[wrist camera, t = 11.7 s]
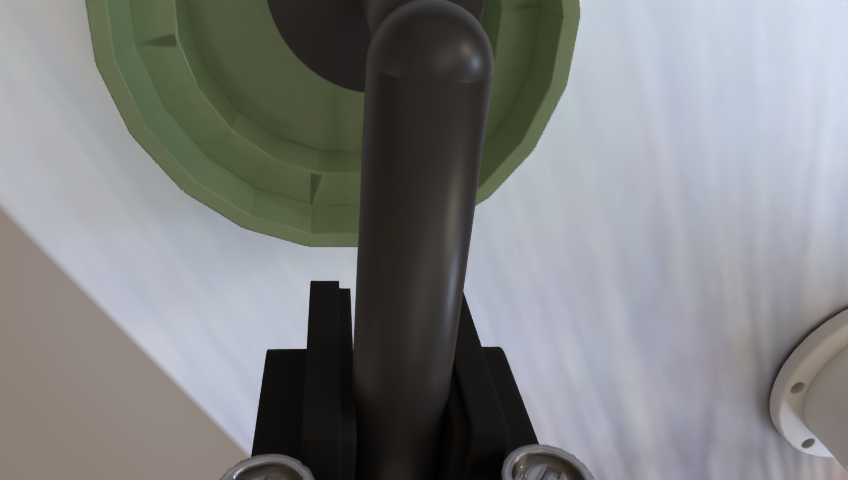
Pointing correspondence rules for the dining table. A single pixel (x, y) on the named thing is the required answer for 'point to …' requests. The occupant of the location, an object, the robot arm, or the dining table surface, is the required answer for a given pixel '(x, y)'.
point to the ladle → (405, 203)
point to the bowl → (297, 107)
